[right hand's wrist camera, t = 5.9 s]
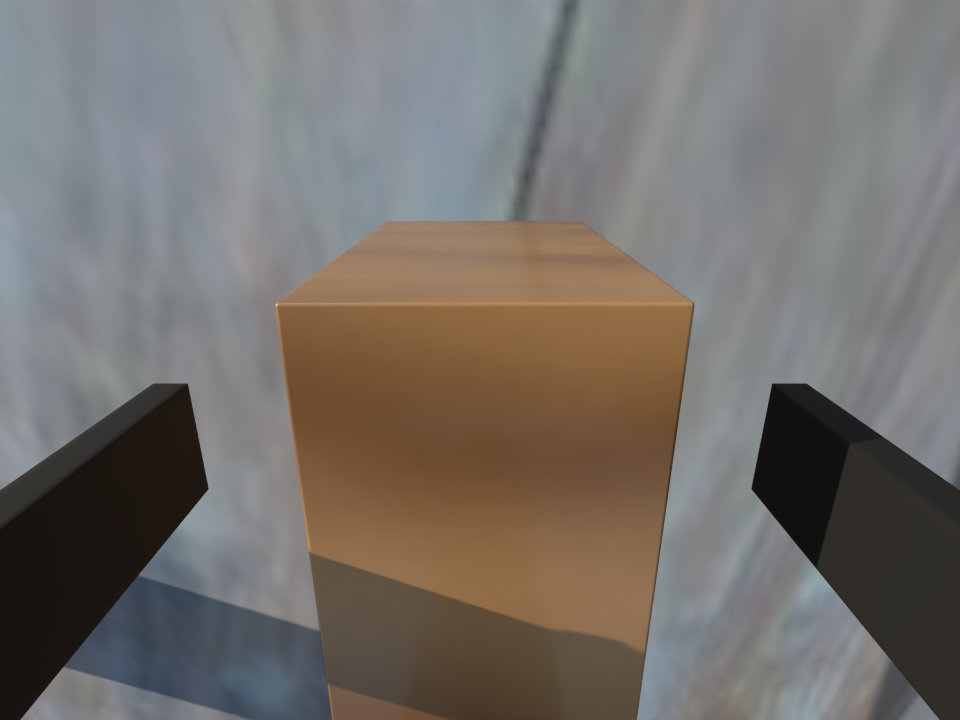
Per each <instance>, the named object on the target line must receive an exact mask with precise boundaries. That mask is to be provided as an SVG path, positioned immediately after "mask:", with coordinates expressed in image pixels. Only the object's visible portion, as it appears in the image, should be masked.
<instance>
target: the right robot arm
mask: <svg viewBox="0 0 960 720" xmlns="http://www.w3.org/2000/svg"><path fill="white" fill-rule="evenodd" d="M207 490H208V484H207V479H206V474H205V468H204V463H203V458H202V453H201V448H200V443H199V438H198V433H197V428H196V423H195V418H194V413H193V408H192V403H191V398H190V393H189V388H188V384H152V385H151V386H149V387H148V388H147V389H145V390H144V391H142V392H141V393H139V394H138V395H137V396H135V397H134V398H132V399H131V400H129V401H128V402H126V403H125V404H124V405H122V406H121V407H119V408H118V409H116V410H115V411H114V412H112V413H111V414H109V415H108V416H106V417H105V418H104V419H102V420H101V421H99V422H98V423H96V424H95V425H93V426H92V427H91V428H89V429H88V430H86V431H85V432H83V433H82V434H81V435H79V436H78V437H76V438H75V439H73V440H72V441H71V442H69V443H68V444H66V445H65V446H63V447H62V448H60V449H59V450H58V451H56V452H55V453H53V454H52V455H50V456H49V457H48V458H46V459H45V460H43V461H42V462H40V463H39V464H37V465H36V466H35V467H33V468H32V469H30V470H29V471H27V472H26V473H25V474H23V475H22V476H20V477H19V478H17V479H16V480H15V481H13V482H12V483H10V484H9V485H7V486H6V487H4V488H3V489H2V490H0V720H20V719H21V718H22V717H23V716H24V715H25V713H26V712H27V711H28V710H29V708H30V707H31V706H32V705H33V703H34V702H35V701H36V700H37V699H38V697H39V696H40V695H41V694H42V692H43V691H44V690H45V689H46V688H47V686H48V685H49V684H50V683H51V681H52V680H53V679H54V678H55V677H56V675H57V674H58V673H59V672H60V670H61V669H62V668H63V667H64V666H65V664H66V663H67V662H68V661H69V659H70V658H71V657H72V656H73V654H74V653H75V652H76V651H77V650H78V648H79V647H80V646H81V645H82V643H83V642H84V641H85V640H86V639H87V637H88V636H89V635H90V634H91V632H92V631H93V630H94V629H95V628H96V626H97V625H98V624H99V623H100V621H101V620H102V619H103V618H104V616H105V615H106V614H107V613H108V612H109V610H110V609H111V608H112V607H113V605H114V604H115V603H116V602H117V601H118V599H119V598H120V597H121V596H122V594H123V593H124V592H125V591H126V590H127V588H128V587H129V586H130V585H131V583H132V582H133V581H134V580H135V578H136V577H137V576H138V575H139V574H140V572H141V571H142V570H143V569H144V567H145V566H146V565H147V564H148V563H149V561H150V560H151V559H152V558H153V556H154V555H155V554H156V553H157V552H158V550H159V549H160V548H161V547H162V545H163V544H164V543H165V542H166V540H167V539H168V538H169V537H170V536H171V534H172V533H173V532H174V531H175V529H176V528H177V527H178V526H179V525H180V523H181V522H182V521H183V520H184V518H185V517H186V516H187V515H188V514H189V512H190V511H191V510H192V509H193V507H194V506H195V505H196V504H197V503H198V501H199V500H200V499H201V498H202V496H203V495H204V494H205V493H206V491H207ZM752 490H753V491H754V493H755V494H756V495H757V496H758V498H759V499H760V500H761V501H762V503H763V504H764V505H765V506H766V507H767V509H768V510H769V511H770V512H771V514H772V515H773V516H774V517H775V518H776V520H777V521H778V522H779V523H780V525H781V526H782V527H783V528H784V529H785V531H786V532H787V533H788V534H789V536H790V537H791V538H792V539H793V541H794V542H795V543H796V544H797V545H798V547H799V548H800V549H801V550H802V552H803V553H804V554H805V555H806V556H807V558H808V559H809V560H810V561H811V563H812V564H813V565H814V566H815V567H816V569H817V570H818V571H819V572H820V574H821V575H822V576H823V577H824V578H825V580H826V581H827V582H828V583H829V585H830V586H831V587H832V588H833V590H834V591H835V592H836V593H837V594H838V596H839V597H840V598H841V599H842V601H843V602H844V603H845V604H846V605H847V607H848V608H849V609H850V610H851V612H852V613H853V614H854V615H855V616H856V618H857V619H858V620H859V621H860V623H861V624H862V625H863V626H864V628H865V629H866V630H867V631H868V632H869V634H870V635H871V636H872V637H873V639H874V640H875V641H876V642H877V643H878V645H879V646H880V647H881V648H882V650H883V651H884V652H885V653H886V654H887V656H888V657H889V658H890V659H891V661H892V662H893V663H894V664H895V666H896V667H897V668H898V669H899V670H900V672H901V673H902V674H903V675H904V677H905V678H906V679H907V680H908V681H909V683H910V684H911V685H912V686H913V688H914V689H915V690H916V691H917V692H918V694H919V695H920V696H921V697H922V699H923V700H924V701H925V702H926V703H927V705H928V706H929V707H930V708H931V710H932V711H933V712H934V713H935V715H936V716H937V717H938V718H939V719H940V720H960V490H958V489H957V488H956V487H954V486H953V485H951V484H950V483H948V482H947V481H945V480H944V479H943V478H941V477H940V476H938V475H937V474H935V473H934V472H933V471H931V470H930V469H928V468H927V467H925V466H924V465H923V464H921V463H920V462H918V461H917V460H915V459H914V458H912V457H911V456H910V455H908V454H907V453H905V452H904V451H902V450H901V449H900V448H898V447H897V446H895V445H894V444H892V443H891V442H889V441H888V440H887V439H885V438H884V437H882V436H881V435H879V434H878V433H877V432H875V431H874V430H872V429H871V428H869V427H868V426H867V425H865V424H864V423H862V422H861V421H859V420H858V419H856V418H855V417H854V416H852V415H851V414H849V413H848V412H846V411H845V410H844V409H842V408H841V407H839V406H838V405H836V404H835V403H833V402H832V401H831V400H829V399H828V398H826V397H825V396H823V395H822V394H821V393H819V392H818V391H816V390H815V389H813V388H812V387H811V386H809V385H808V384H772V388H771V393H770V398H769V403H768V408H767V413H766V418H765V423H764V428H763V433H762V438H761V443H760V448H759V453H758V458H757V463H756V468H755V474H754V479H753V484H752Z"/></svg>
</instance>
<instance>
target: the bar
mask: <svg viewBox="0 0 960 720" xmlns="http://www.w3.org/2000/svg"><path fill="white" fill-rule="evenodd" d="M275 307H276V315H277V322H278V329H279V336H280V344H281V351H282V358H283V365H284V373H285V380H286V387H287V394H288V402H289V409H290V416H291V423H292V431H293V438H294V445H295V452H296V460H297V467H298V474H299V481H300V489H301V496H302V503H303V510H304V518H305V525H306V532H307V539H308V547H309V554H310V561H311V568H312V576H313V583H314V590H315V597H316V605H317V612H318V619H319V627H320V634H321V641H322V648H323V656H324V663H325V670H326V677H327V685H328V692H329V699H330V706H331V714H332V720H637V713H638V706H639V699H640V692H641V685H642V678H643V670H644V663H645V656H646V649H647V642H648V635H649V628H650V620H651V613H652V606H653V599H654V592H655V585H656V577H657V570H658V563H659V556H660V549H661V542H662V534H663V527H664V520H665V513H666V506H667V499H668V491H669V484H670V477H671V470H672V463H673V456H674V448H675V441H676V434H677V427H678V420H679V413H680V406H681V398H682V391H683V384H684V377H685V370H686V363H687V355H688V348H689V341H690V334H691V327H692V320H693V312H694V303H693V302H692V301H691V300H689V299H688V298H687V297H685V296H684V295H682V294H681V293H680V292H678V291H677V290H675V289H674V288H673V287H671V286H670V285H669V284H667V283H666V282H664V281H663V280H662V279H660V278H659V277H657V276H656V275H655V274H653V273H652V272H651V271H649V270H648V269H646V268H645V267H644V266H642V265H641V264H640V263H638V262H637V261H635V260H634V259H633V258H631V257H630V256H628V255H627V254H626V253H624V252H623V251H622V250H620V249H619V248H617V247H616V246H615V245H613V244H612V243H611V242H609V241H608V240H606V239H605V238H604V237H602V236H601V235H599V234H598V233H597V232H595V231H594V230H593V229H591V228H590V227H588V226H587V225H586V224H584V223H583V222H581V221H430V222H385V223H384V224H383V225H381V226H380V227H379V228H377V229H376V230H375V231H373V232H372V233H370V234H369V235H368V236H366V237H365V238H364V239H362V240H361V241H360V242H358V243H357V244H356V245H354V246H353V247H351V248H350V249H349V250H347V251H346V252H345V253H343V254H342V255H341V256H339V257H338V258H336V259H335V260H334V261H332V262H331V263H330V264H328V265H327V266H326V267H324V268H323V269H322V270H320V271H319V272H317V273H316V274H315V275H313V276H312V277H311V278H309V279H308V280H307V281H305V282H304V283H303V284H301V285H300V286H298V287H297V288H296V289H294V290H293V291H292V292H290V293H289V294H288V295H286V296H285V297H284V298H282V299H281V300H279V301H278V302H277V303H276V305H275Z"/></svg>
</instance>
